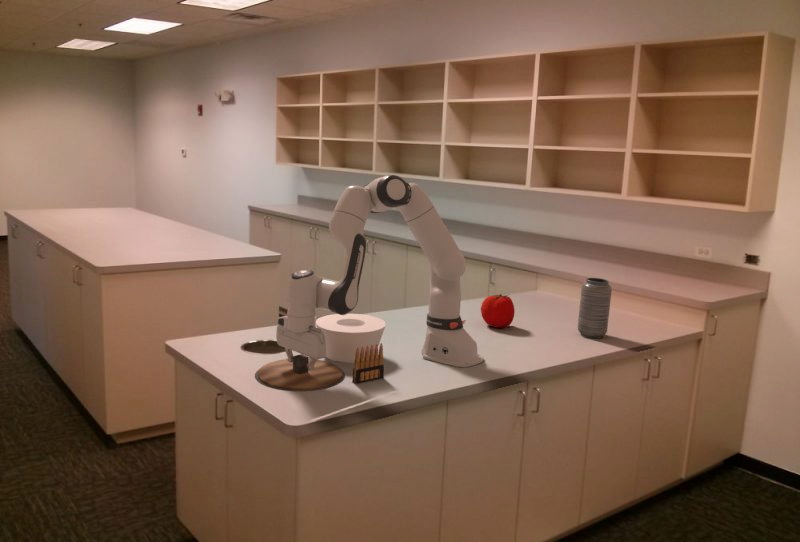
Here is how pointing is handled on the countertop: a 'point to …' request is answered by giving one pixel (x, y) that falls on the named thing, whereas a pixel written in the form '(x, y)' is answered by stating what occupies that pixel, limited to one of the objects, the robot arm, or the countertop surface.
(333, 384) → the mat
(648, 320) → the countertop surface
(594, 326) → the vase
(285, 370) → the lid
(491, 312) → the tomato
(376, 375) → the ammunition clip
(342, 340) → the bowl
